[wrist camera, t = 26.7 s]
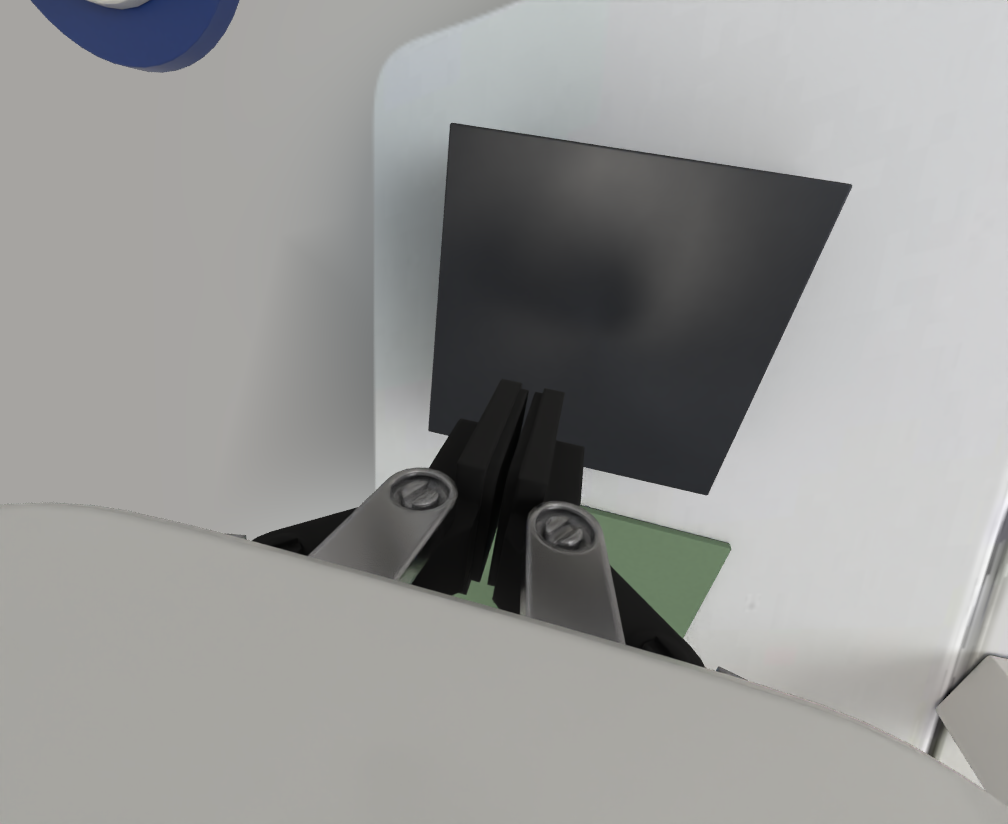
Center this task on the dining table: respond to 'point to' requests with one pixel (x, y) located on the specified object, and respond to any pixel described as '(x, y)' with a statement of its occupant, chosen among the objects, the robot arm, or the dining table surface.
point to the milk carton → (982, 723)
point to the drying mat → (648, 566)
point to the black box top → (619, 293)
